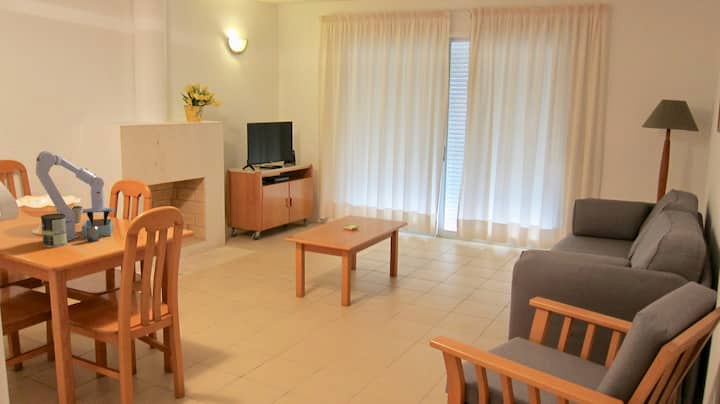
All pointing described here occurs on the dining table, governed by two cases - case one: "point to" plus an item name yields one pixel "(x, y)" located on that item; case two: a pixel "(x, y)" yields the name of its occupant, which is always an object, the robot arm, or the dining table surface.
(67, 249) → the dining table surface
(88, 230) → the grey cylinder
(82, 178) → the robot arm
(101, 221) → the walnut cube
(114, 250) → the dining table surface
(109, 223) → the tote
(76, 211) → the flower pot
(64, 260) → the dining table surface
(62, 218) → the coffee can
